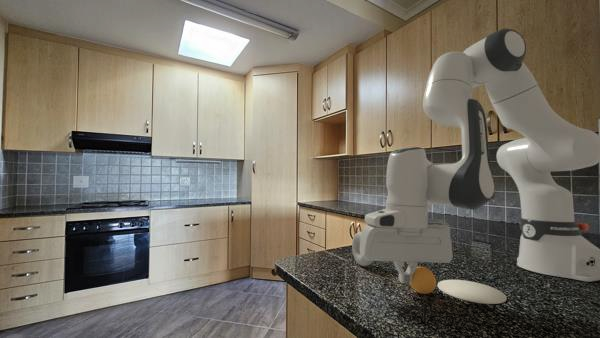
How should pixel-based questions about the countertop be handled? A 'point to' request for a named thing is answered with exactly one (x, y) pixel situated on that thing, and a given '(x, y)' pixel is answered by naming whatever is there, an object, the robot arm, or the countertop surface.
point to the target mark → (472, 291)
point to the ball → (423, 280)
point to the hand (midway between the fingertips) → (405, 281)
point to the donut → (358, 251)
